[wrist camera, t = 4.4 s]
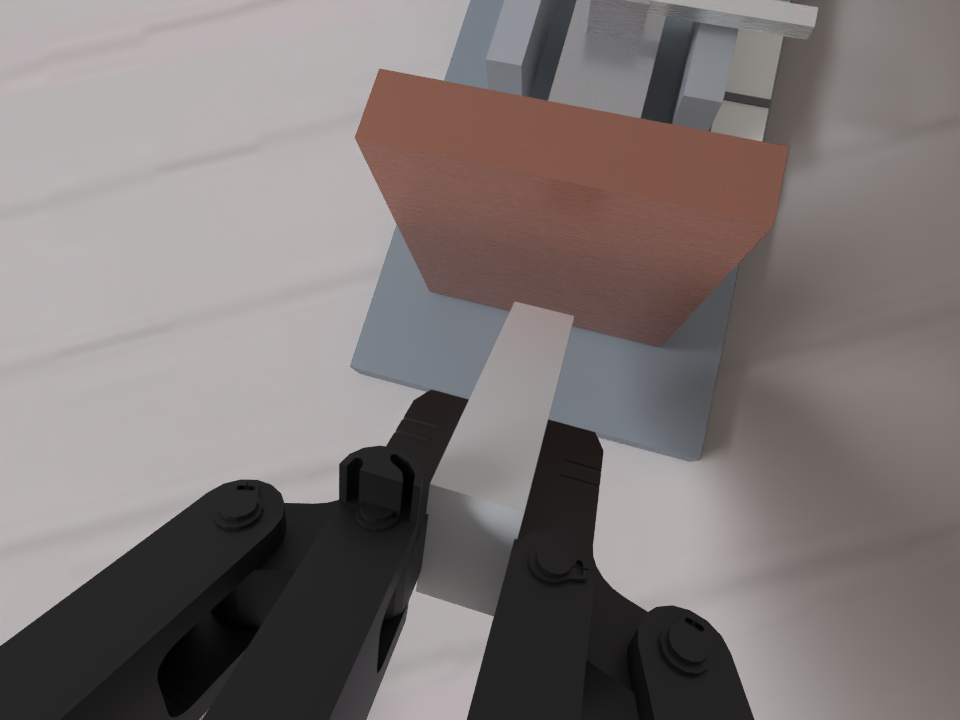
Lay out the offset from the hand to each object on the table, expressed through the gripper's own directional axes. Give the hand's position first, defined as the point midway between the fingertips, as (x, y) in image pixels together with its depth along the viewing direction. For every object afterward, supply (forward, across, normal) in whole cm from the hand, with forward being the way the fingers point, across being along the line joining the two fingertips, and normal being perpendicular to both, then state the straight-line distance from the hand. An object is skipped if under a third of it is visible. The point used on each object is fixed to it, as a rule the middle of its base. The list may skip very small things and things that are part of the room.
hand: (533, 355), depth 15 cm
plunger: (+9, +1, +3) cm, 9 cm away
